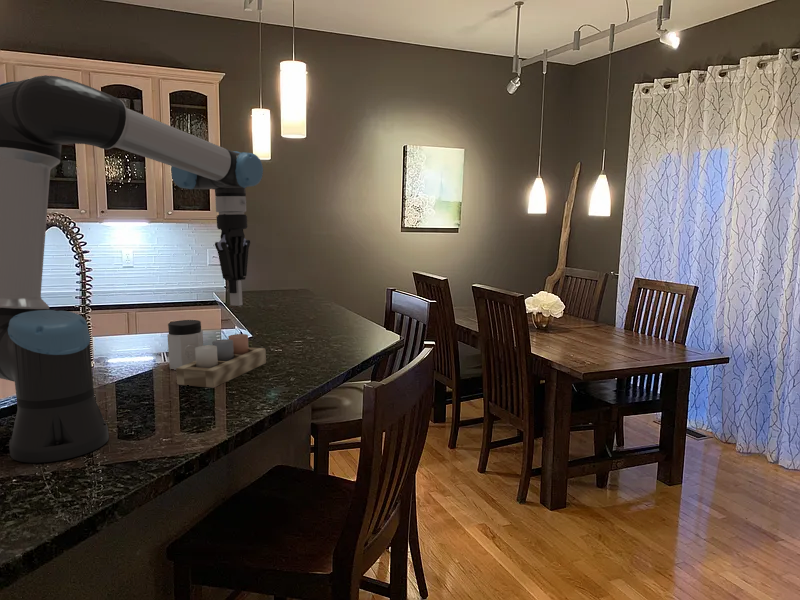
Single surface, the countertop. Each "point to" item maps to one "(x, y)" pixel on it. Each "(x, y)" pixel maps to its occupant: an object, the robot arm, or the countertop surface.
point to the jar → (183, 342)
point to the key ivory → (206, 356)
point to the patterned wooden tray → (220, 369)
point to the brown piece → (240, 343)
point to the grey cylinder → (224, 349)
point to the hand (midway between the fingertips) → (236, 305)
